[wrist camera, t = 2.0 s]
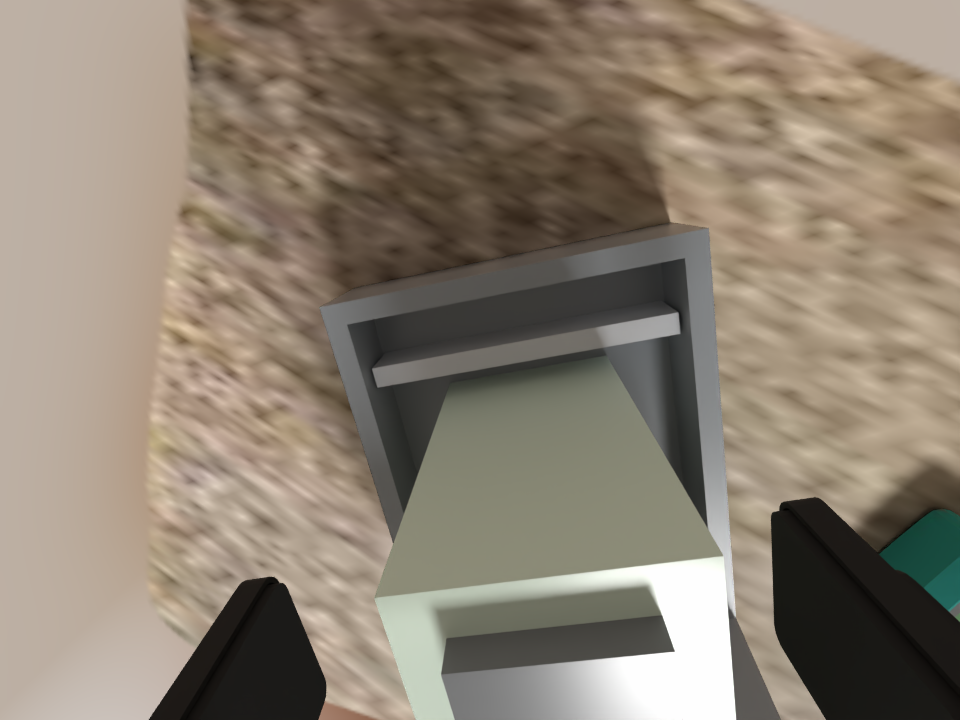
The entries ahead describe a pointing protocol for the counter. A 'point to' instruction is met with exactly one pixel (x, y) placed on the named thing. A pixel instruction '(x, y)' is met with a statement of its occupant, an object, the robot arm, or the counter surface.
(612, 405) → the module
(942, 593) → the digital multimeter
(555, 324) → the case
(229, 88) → the counter surface
